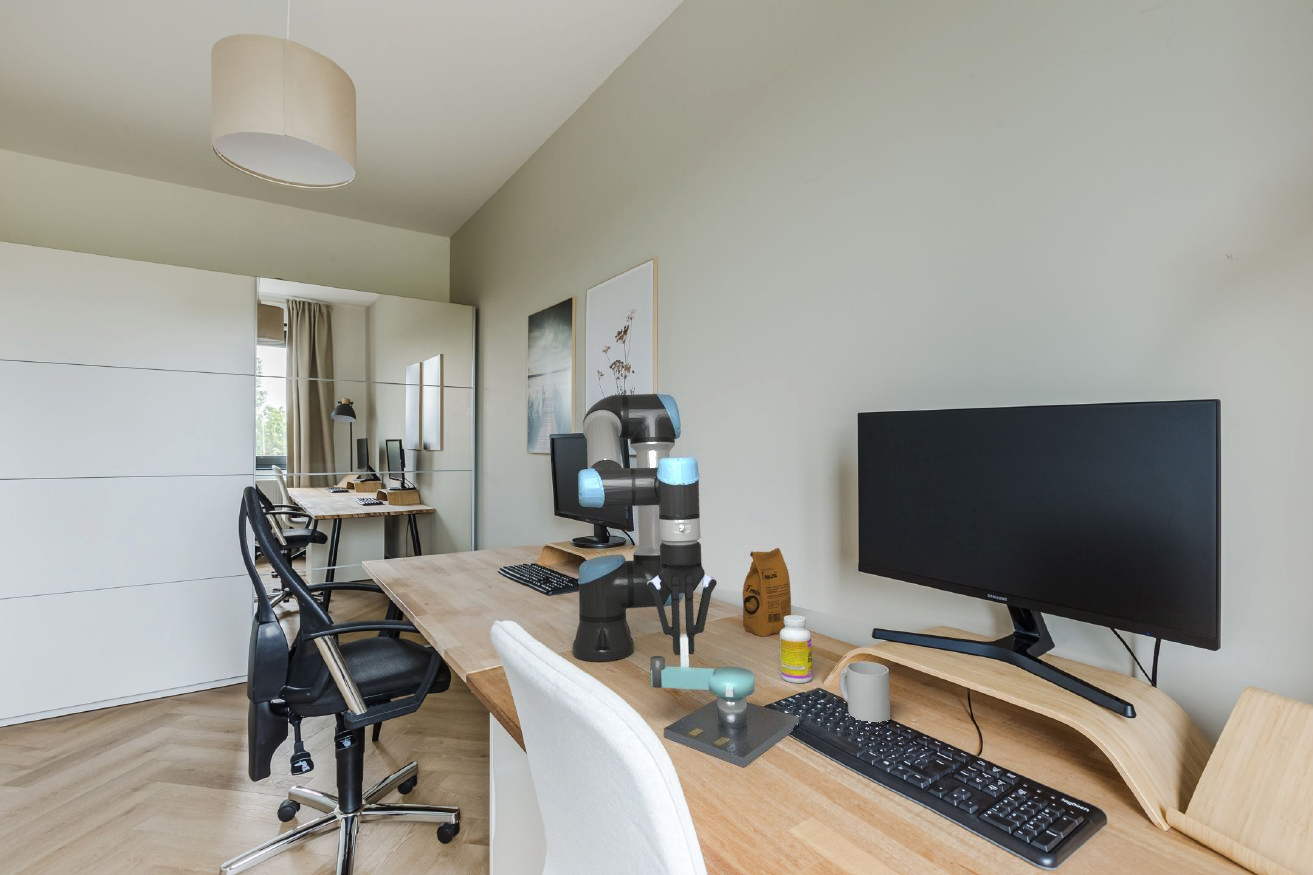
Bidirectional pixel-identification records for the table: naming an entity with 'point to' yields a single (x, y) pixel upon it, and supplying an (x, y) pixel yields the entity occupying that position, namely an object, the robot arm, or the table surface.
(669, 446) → the robot arm
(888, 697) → the cup
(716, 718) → the post base
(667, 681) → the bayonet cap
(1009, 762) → the table surface
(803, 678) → the supplement bottle
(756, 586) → the coffee package
